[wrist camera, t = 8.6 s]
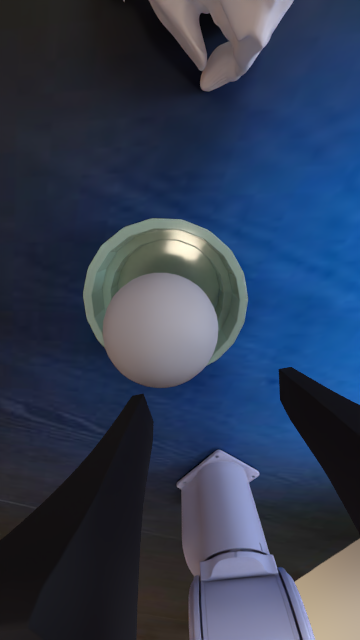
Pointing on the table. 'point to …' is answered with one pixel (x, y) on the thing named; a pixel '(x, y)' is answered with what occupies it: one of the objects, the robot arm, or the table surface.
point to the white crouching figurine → (235, 23)
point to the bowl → (169, 271)
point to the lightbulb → (160, 330)
